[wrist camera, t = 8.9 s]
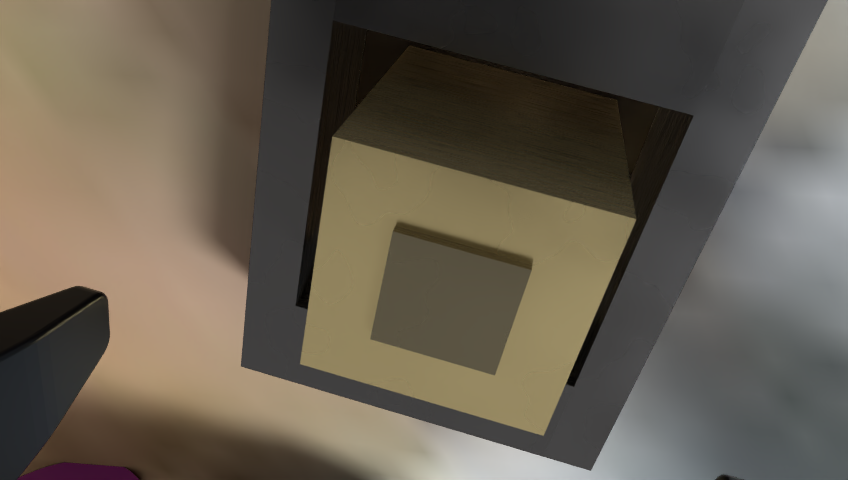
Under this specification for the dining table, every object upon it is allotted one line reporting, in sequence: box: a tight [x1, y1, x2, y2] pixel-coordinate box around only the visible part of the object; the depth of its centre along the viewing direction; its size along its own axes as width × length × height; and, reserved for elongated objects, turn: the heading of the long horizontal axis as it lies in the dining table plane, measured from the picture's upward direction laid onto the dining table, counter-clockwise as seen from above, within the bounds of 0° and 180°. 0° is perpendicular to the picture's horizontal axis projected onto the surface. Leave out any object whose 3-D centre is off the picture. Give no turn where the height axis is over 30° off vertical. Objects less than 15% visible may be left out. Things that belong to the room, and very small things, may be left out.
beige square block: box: [300, 45, 636, 436], centre depth 15 cm, size 5×5×6 cm
